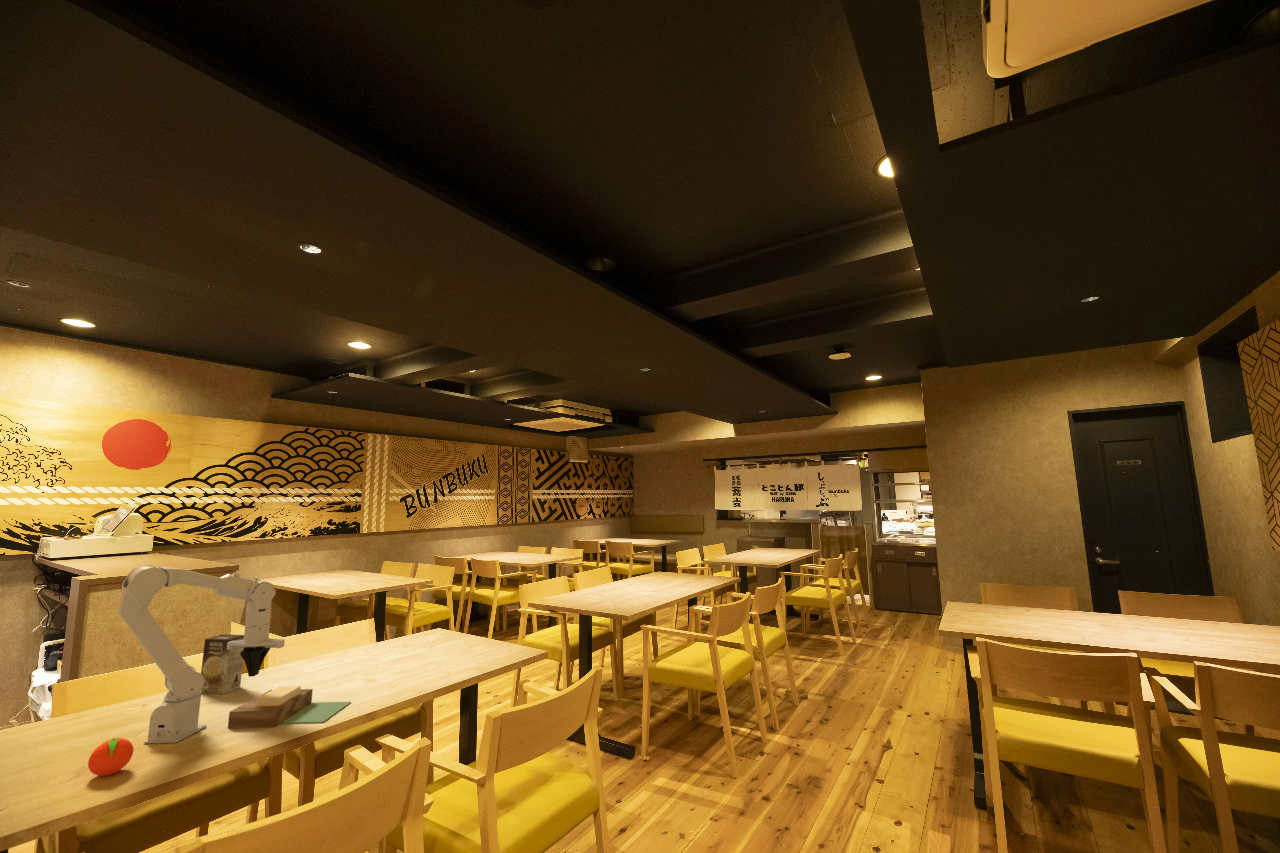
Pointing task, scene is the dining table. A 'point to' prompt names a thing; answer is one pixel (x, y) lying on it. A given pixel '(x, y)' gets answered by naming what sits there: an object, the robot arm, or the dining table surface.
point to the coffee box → (221, 664)
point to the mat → (316, 712)
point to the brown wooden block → (268, 711)
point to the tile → (278, 696)
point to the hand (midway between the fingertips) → (253, 675)
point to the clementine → (110, 756)
